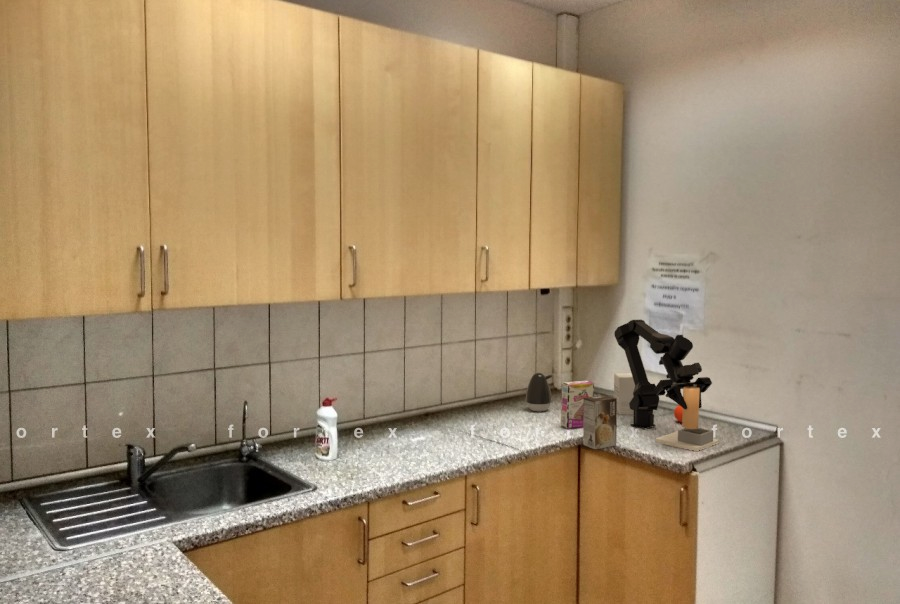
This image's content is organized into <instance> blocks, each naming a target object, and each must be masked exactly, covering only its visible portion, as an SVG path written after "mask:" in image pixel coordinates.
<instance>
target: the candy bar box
mask: <svg viewBox="0 0 900 604" xmlns="http://www.w3.org/2000/svg"><path fill="white" fill-rule="evenodd" d="M594 393H595V382H594V381H593V382H592V381H589V380H578V381H577V380H576V381H567V382H566V381H564V382H561V401H560V407H561V409H560V426H561V427H562V428H564V429H566V430H572V429H579V428H580V429H581V428H584V398H586V397H594Z"/></svg>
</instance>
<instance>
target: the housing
mask: <svg viewBox="0 0 900 604" xmlns="http://www.w3.org/2000/svg"><path fill="white" fill-rule="evenodd" d="M655 443H658V444H661V445H662V444H663V445H667V446H671V447H675V448H678V449H679V448H680V449H683V448H684V449H685V450H687V449H689V450H688V451H692V450H694V451H693V452H696V451H698V452H700V451H702V449H703V450H705V449H704V448H706V449H707V447H708V448H710V447H709V446H711V447H713V446H716V445H718V444H719V443H720V441H719V439H715V438H714V430H711V429H705V428H699V427H698V429H686V428H681V429H679V430H677V431H674V432H672V433H668V434H666V435H663V436H659V437H656V438H655ZM715 444H716V445H715ZM712 445H713V446H712ZM684 449H683V450H684ZM699 450H700V451H699Z"/></svg>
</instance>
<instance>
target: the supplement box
mask: <svg viewBox="0 0 900 604" xmlns="http://www.w3.org/2000/svg"><path fill="white" fill-rule="evenodd" d="M634 388H635V383H634V380H633V377H632V373H630V372H629V373H627V372H625V373H623V372H622V373H621V372H620V373H616V372H615V373H613V398H617V415H619V416H633V415H634V410H632V409H630V406H629V403H630V401H631V400H632V398H633V397H634V396H633V391H634Z"/></svg>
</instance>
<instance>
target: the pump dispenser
mask: <svg viewBox="0 0 900 604" xmlns="http://www.w3.org/2000/svg"><path fill="white" fill-rule="evenodd" d="M551 378H553V374H549V375H546V376H545V374H543V373H541V372H535V373H534V374H533V375H532V376H531V378H530V380H529V382H528V385H527V389H526V394H525V403H526V405H527V408H528V409H529V410H530V411H532V412H535V411H537V412H538V413H542V411H543V412H545V411H548V410H549V408H550V406H551V403H552V392H551V388H550V385H549V381H548V380H549V379H551ZM537 412H536V413H537Z"/></svg>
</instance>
